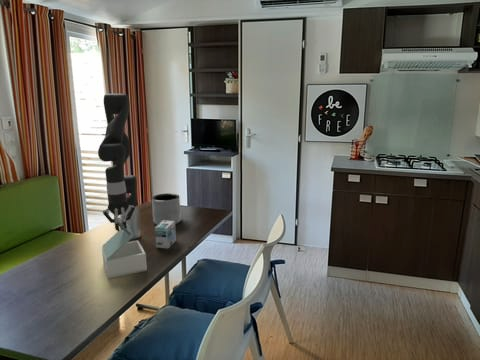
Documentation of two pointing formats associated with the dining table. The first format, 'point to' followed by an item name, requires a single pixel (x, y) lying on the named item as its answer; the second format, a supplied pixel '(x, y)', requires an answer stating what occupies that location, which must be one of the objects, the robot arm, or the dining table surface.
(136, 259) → the cabinet
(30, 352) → the dining table surface
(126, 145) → the robot arm
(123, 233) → the door
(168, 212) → the planter
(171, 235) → the light bulb box
